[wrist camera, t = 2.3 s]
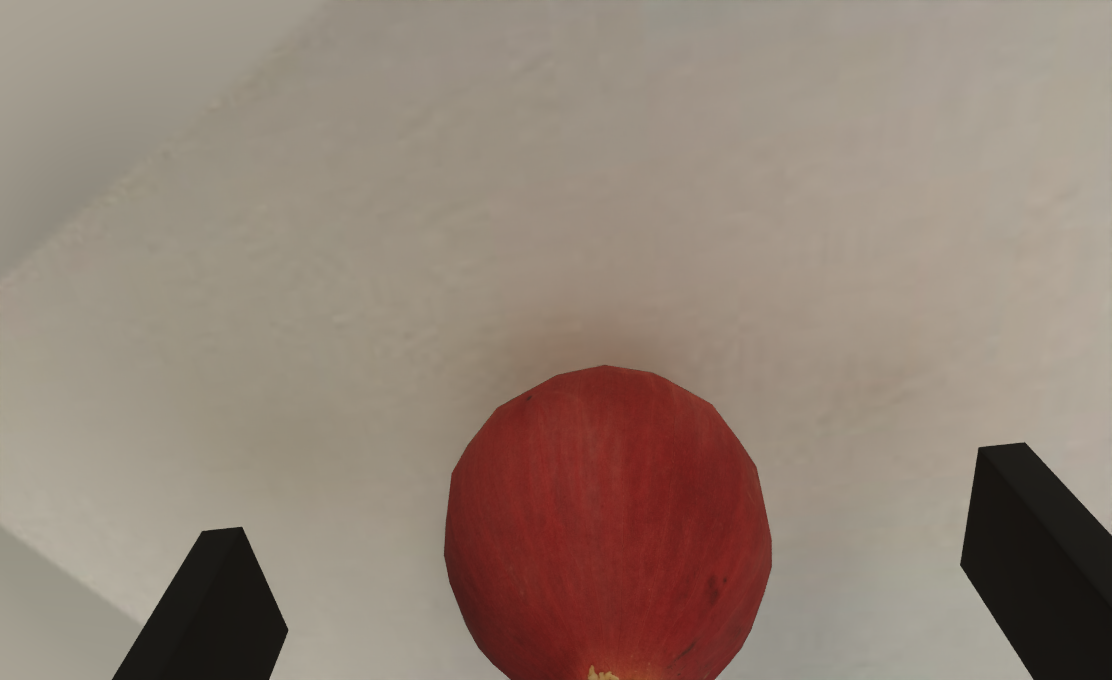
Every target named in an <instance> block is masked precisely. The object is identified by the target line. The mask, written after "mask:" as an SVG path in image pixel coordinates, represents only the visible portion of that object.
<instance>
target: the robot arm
mask: <svg viewBox="0 0 1112 680" xmlns="http://www.w3.org/2000/svg"><path fill="white" fill-rule="evenodd" d="M960 566H961V567H962V569H963V570H964V572H965V573H966V575H967V577H968V578H969V580H970V581H971V583H972V584H973V586H974V587H975V589H976V591H977V592H978V594H979V595H980V597H981V598H982V600H983V601H984V603H985V605H986V606H987V608H988V609H989V611H990V612H991V614H992V615H993V617H994V619H995V620H996V622H997V623H998V625H999V626H1000V628H1001V630H1002V631H1003V633H1004V634H1005V636H1006V637H1007V639H1008V640H1009V642H1010V644H1011V645H1012V647H1013V648H1014V650H1015V651H1016V653H1017V654H1018V656H1019V658H1020V659H1021V661H1022V662H1023V664H1024V665H1025V667H1026V668H1027V670H1028V672H1029V673H1030V675H1031V676H1032V678H1033V679H1034V680H1112V536H1111V534H1110V533H1109V532H1108V531H1107V530H1106V529H1105V528H1104V527H1103V526H1102V525H1101V524H1100V523H1099V522H1098V520H1097V519H1096V518H1095V517H1094V516H1093V515H1092V514H1091V513H1090V512H1089V511H1088V510H1087V509H1086V508H1085V506H1084V505H1083V504H1082V503H1081V502H1080V501H1079V500H1078V499H1077V498H1076V497H1075V496H1074V495H1073V494H1072V492H1071V491H1070V490H1069V489H1068V488H1067V487H1066V486H1065V485H1064V484H1063V483H1062V482H1061V481H1060V480H1059V478H1058V477H1057V476H1056V475H1055V474H1054V473H1053V472H1052V471H1051V470H1050V469H1049V468H1048V467H1047V466H1046V464H1045V463H1044V462H1043V461H1042V460H1041V459H1040V458H1039V457H1038V456H1037V455H1036V454H1035V453H1034V452H1033V450H1032V449H1031V448H1030V447H1029V446H1028V445H1027V444H1026V443H1025V442H1024V443H1014V444H1005V445H996V446H986V447H979V448H978V454H977V461H976V467H975V474H974V480H973V486H972V493H971V499H970V505H969V512H968V518H967V525H966V531H965V537H964V544H963V550H962V556H961V563H960ZM287 633H288V628H287V626H286V623H285V621H284V619H283V617H282V614H281V612H280V610H279V608H278V605H277V603H276V601H275V599H274V597H273V594H272V592H271V590H270V588H269V585H268V583H267V581H266V579H265V577H264V574H263V572H262V570H261V568H260V565H259V563H258V561H257V559H256V557H255V554H254V552H253V550H252V548H251V545H250V543H249V541H248V539H247V536H246V534H245V532H244V530H243V528H242V527H235V528H226V529H216V530H207V531H202V532H201V534H200V536H199V537H198V539H197V541H196V542H195V544H194V545H193V547H192V549H191V550H190V552H189V554H188V555H187V557H186V559H185V560H184V562H183V564H182V565H181V567H180V568H179V570H178V572H177V573H176V575H175V577H174V578H173V580H172V582H171V583H170V585H169V587H168V588H167V590H166V591H165V593H164V595H163V596H162V598H161V600H160V601H159V603H158V605H157V606H156V608H155V610H154V611H153V613H152V614H151V616H150V618H149V619H148V621H147V623H146V624H145V626H144V628H143V629H142V631H141V633H140V634H139V636H138V638H137V639H136V641H135V642H134V644H133V646H132V647H131V649H130V651H129V652H128V654H127V656H126V657H125V659H124V661H123V662H122V664H121V666H120V667H119V669H118V670H117V672H116V674H115V675H114V677H113V679H112V680H269V679H270V676H271V673H272V671H273V668H274V666H275V663H276V661H277V658H278V656H279V653H280V651H281V648H282V646H283V643H284V641H285V638H286V635H287Z"/></svg>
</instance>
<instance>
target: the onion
mask: <svg viewBox="0 0 1112 680" xmlns="http://www.w3.org/2000/svg"><path fill="white" fill-rule="evenodd" d="M444 557H445V562H446V567H447V572H448V577H449V582H450V585H451V588H452V590H453V593H454V595H455V598H456V601H457V603H458V606H459V608H460V611H461V613H462V616H463V619H464V621H465V624H466V626H467V628H468V630H469V632H470V634H471V635H472V637H473V639H474V641H475V643H476V644H477V646H478V648H479V649H480V650H481V651H482V652H483V653H484V655H485V656H486V657H487V658H488V659H489V660H490V661H491V662H492V664H493V665H494V666H496V667H497V668H498V669H499V670H500V671H502V672H503V673H504V674H505V675H506V676H507V677H508V678H509V679H511V680H714V679H715V678H716V677H717V676H718V675H719V674H720V673H721V672H722V671H723V670H724V668H725V667H726V666H727V665H728V664H729V663H730V662H731V660H732V659H733V658H734V657H735V655H736V654H737V653H738V652H739V650H740V649H741V648H742V646H743V644H744V642H745V640H746V639H747V637H748V635H749V633H750V631H751V629H752V626H753V623H754V620H755V618H756V615H757V612H758V609H759V606H760V603H761V601H762V598H763V595H764V592H765V589H766V585H767V582H768V578H769V575H770V571H771V568H772V539H771V534H770V529H769V524H768V519H767V514H766V509H765V504H764V499H763V495H762V490H761V486H760V481H759V477H758V472H757V468H756V466H755V464H754V463H753V461H752V459H751V458H750V456H749V455H748V453H747V452H746V450H745V449H744V447H743V446H742V444H741V443H740V441H739V440H738V438H737V437H736V436H735V434H734V433H733V432H732V430H731V429H730V428H729V426H728V425H727V424H726V422H725V421H724V420H723V418H722V417H721V416H720V414H719V413H718V412H717V410H716V409H715V408H714V406H713V405H712V404H710V403H709V402H707V401H705V400H703V399H701V398H700V397H698V396H696V395H694V394H692V393H690V392H689V391H687V390H685V389H683V388H681V387H680V386H678V385H676V384H674V383H672V382H671V381H669V380H667V379H665V378H663V377H661V376H659V375H656V374H654V373H651V372H645V371H639V370H633V369H626V368H620V367H614V366H608V365H602V366H598V367H593V368H588V369H583V370H578V371H574V372H569V373H564V374H559V375H556V376H554V377H552V378H550V379H549V380H547V381H545V382H543V383H541V384H540V385H538V386H536V387H534V388H532V389H530V390H529V391H527V392H525V393H523V394H521V395H519V396H518V397H516V398H514V399H512V400H510V401H508V402H507V403H505V404H503V405H501V406H499V407H498V408H497V409H496V410H495V411H494V412H493V414H492V415H491V416H490V418H489V419H488V420H487V421H486V423H485V424H484V425H483V426H482V428H481V429H480V430H479V431H478V433H477V434H476V435H475V437H474V438H473V439H472V440H471V442H470V443H469V444H468V445H467V447H466V449H465V451H464V452H463V454H462V456H461V458H460V460H459V461H458V463H457V465H456V467H455V468H454V470H453V472H452V475H451V484H450V492H449V500H448V509H447V517H446V528H445V546H444Z"/></svg>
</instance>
